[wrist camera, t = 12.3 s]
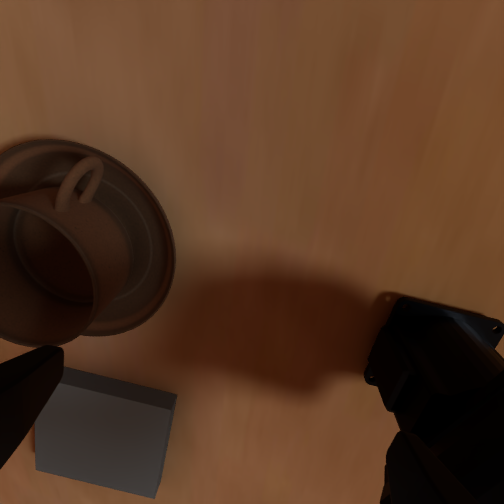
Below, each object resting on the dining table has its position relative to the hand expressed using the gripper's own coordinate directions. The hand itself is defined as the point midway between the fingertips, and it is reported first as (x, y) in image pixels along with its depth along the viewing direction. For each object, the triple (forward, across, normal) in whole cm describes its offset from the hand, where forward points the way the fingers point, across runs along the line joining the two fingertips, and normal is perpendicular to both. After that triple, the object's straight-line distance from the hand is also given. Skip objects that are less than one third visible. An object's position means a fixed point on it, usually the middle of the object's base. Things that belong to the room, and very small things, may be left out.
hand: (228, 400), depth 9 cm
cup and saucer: (+12, +10, +2) cm, 16 cm away
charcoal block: (+13, +8, +18) cm, 24 cm away
